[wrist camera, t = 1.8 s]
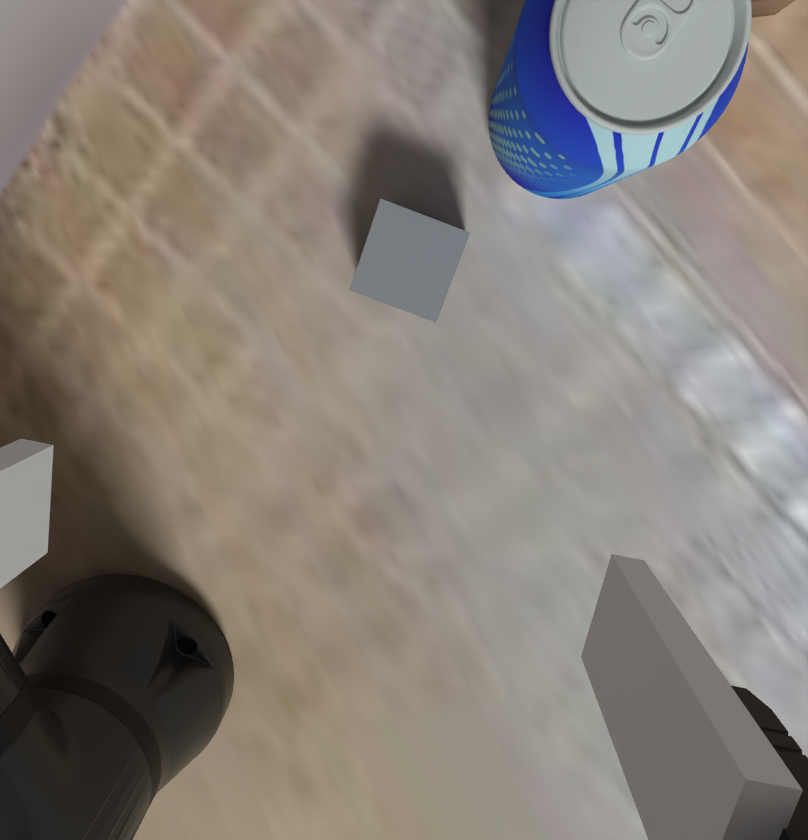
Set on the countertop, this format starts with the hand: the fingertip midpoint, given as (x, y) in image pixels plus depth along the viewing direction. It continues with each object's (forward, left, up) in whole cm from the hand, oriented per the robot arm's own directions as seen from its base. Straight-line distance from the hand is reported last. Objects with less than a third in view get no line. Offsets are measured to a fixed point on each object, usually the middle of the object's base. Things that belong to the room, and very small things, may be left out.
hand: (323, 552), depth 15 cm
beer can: (+7, +16, -27) cm, 32 cm away
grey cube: (0, +7, -27) cm, 28 cm away
